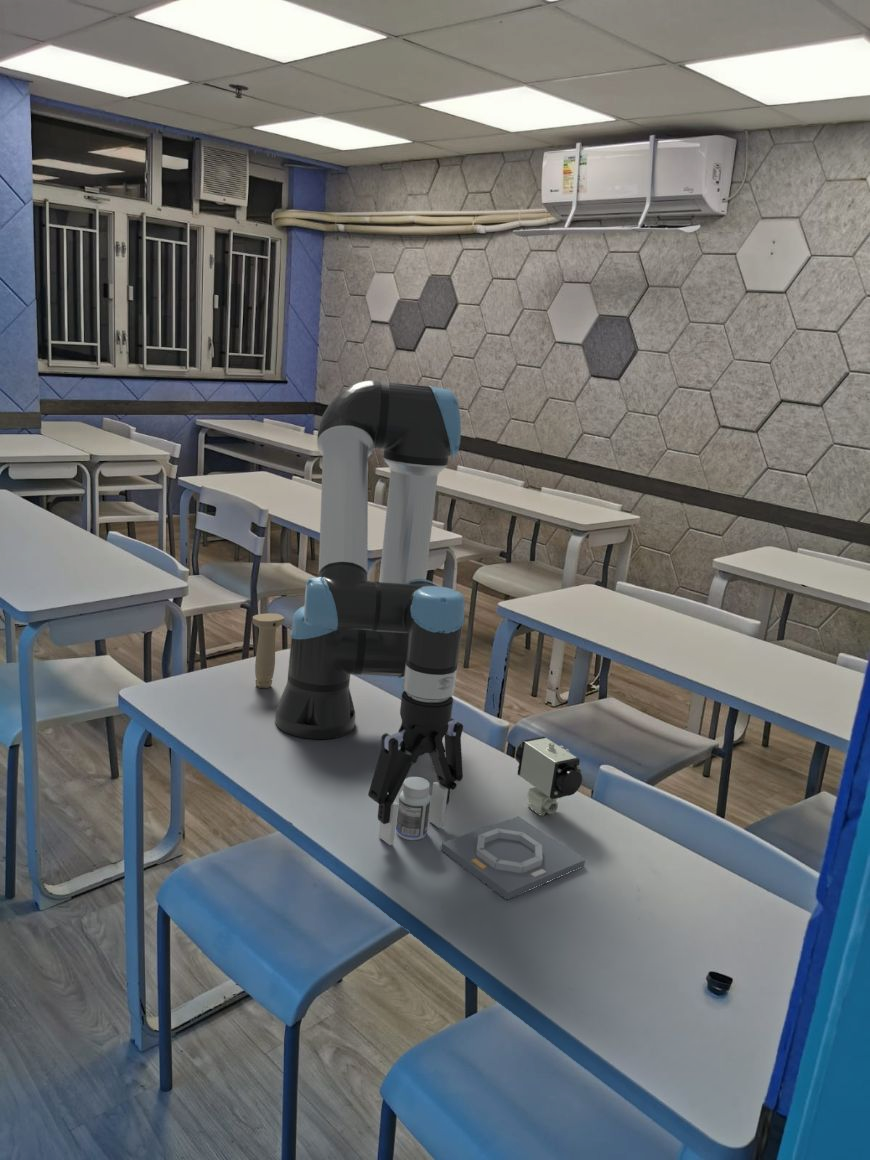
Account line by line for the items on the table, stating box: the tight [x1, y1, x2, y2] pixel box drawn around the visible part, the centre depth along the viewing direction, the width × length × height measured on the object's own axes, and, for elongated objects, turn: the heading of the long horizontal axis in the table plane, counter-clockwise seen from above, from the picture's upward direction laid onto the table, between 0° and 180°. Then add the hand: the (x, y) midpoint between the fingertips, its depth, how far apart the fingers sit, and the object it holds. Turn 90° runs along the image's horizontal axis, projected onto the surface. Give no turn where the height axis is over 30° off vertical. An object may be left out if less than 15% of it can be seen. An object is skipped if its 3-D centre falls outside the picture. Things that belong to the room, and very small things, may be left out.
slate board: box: [440, 815, 586, 900], centre depth 129 cm, size 14×16×2 cm
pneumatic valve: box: [515, 736, 583, 815], centre depth 143 cm, size 6×12×12 cm, turn 33°
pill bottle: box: [395, 776, 431, 841], centre depth 132 cm, size 5×5×8 cm
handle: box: [252, 612, 285, 689], centre depth 180 cm, size 5×6×15 cm
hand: (411, 831), depth 133 cm, fingers open, 9 cm apart
